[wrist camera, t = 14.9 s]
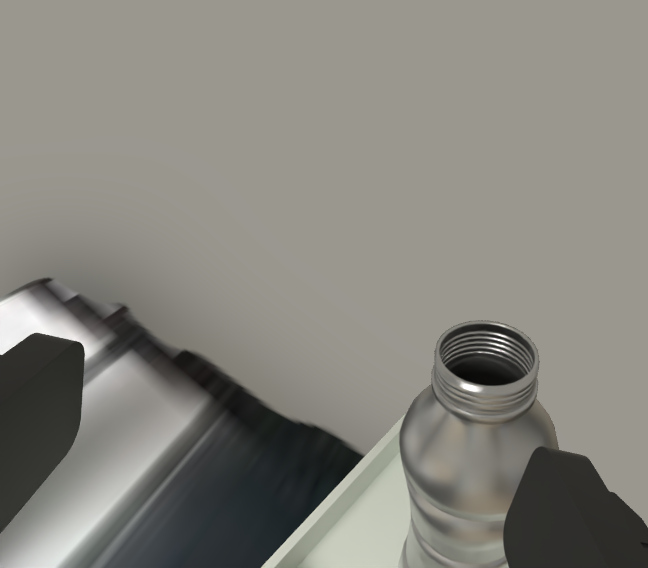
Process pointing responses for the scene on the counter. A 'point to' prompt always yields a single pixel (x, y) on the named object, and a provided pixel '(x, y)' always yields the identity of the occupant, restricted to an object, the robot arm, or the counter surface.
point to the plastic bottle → (470, 445)
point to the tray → (356, 517)
